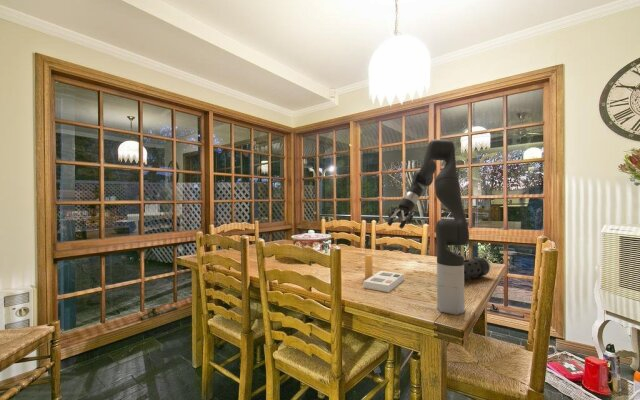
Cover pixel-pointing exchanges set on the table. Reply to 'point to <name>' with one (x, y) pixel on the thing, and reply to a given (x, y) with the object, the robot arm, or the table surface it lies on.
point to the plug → (368, 266)
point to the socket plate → (384, 281)
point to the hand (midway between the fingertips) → (394, 226)
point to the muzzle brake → (475, 267)
